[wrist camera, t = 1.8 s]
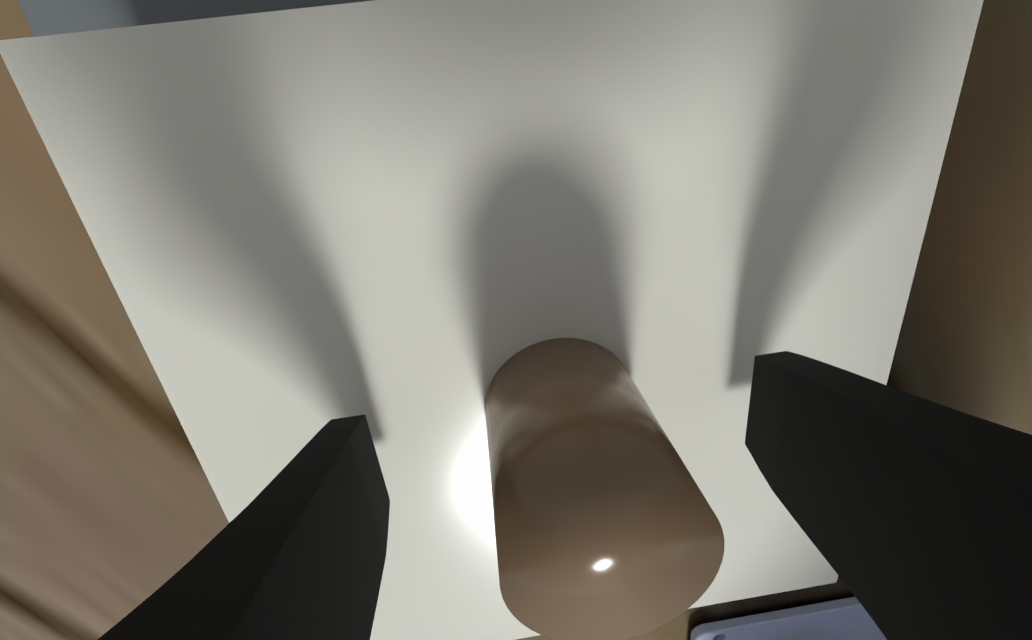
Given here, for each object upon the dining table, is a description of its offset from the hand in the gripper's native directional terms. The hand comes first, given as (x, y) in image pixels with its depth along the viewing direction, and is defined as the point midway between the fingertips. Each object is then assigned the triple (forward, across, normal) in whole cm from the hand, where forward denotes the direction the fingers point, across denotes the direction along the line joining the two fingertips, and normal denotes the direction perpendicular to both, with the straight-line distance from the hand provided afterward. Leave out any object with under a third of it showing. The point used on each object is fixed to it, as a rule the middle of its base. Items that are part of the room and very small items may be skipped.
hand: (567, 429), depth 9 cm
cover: (+4, 0, 0) cm, 4 cm away
